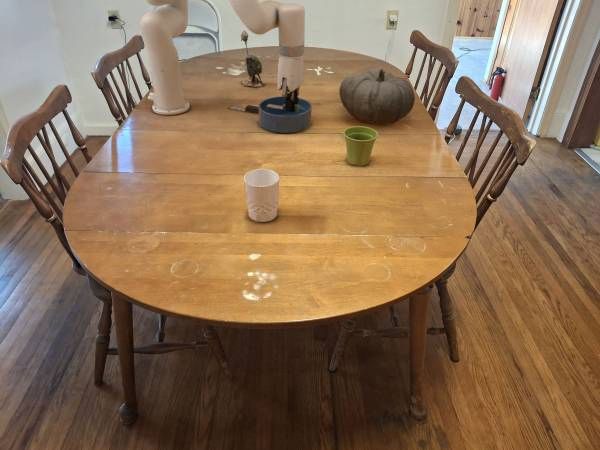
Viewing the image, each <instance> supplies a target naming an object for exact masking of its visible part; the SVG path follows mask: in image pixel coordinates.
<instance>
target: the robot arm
mask: <svg viewBox="0 0 600 450" xmlns="http://www.w3.org/2000/svg"><path fill="white" fill-rule="evenodd" d="M145 1H146V3H147V4H148V5H150V6H152V7H158V8H154V9H152V10H149V11H147V12H146V13H145V14H144V15H142V17H141V19H140V22H139V31H140V34H141V37H142V39H143V40H142V41H143V42H144V46H145V49H146V53H147V58H148V63H149V70H150V75H151V81H152V87H153V92H149V94H148V96H147V100H148V101H152V102H153V104H152V106H151V107H152V108H151V109H152V111H153V112H154V113H156V114H158V115H160V116H161V115H162V116H175V115H180V114H183V113H185V112H187V111H189V110H190V108H191V106H190V102H189V101H187V100H186V99H185V95H184V94H185V93H184V86H183V79H182V72H181V64H180V58H179V53H178V49H177V48H176V46H175V44H174V41H173V39H174V38H177V37H179V36H181V35H182V34H184V33H185V32H186V30H187V28H188V24H189V9H188V8H189V0H145ZM229 3H230V5H231V7H232V10H234V12H235V14H236V15H237V16H238V18H239V20H240V21H241V22H242V24H243V25H244V26H245V27H246V29H248V31H249V32H251V33H252V34H255V35H259V36H260V35H264V34H267V33H268V32H270V31H272V30H275V29H277V28H278V64H277V79H276V81H277V90H278V91H281V96H284V99H285V111H289V112H295V104H297V105H298V98H299V97H300V88H301V87H302V85H303V83H304V79H305V63H304V57H305V36H306V35H305V31H306V28H305V26H306V11H305V7H304V5H302V4H300V3H294V2H292V3H290V2H289V3H285V2H280V1H278V0H277V1H276V0H264V1H262V2H260V1H259V0H229Z"/></svg>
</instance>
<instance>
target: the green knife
mask: <svg viewBox="0 0 600 450" xmlns="http://www.w3.org/2000/svg"><path fill="white" fill-rule="evenodd" d="M266 107H269V108H275V109H281V110H285V104H284V105H283V106H278V105H272V104H268V105H267V106H266ZM298 111H299V105H297V104H295V112H298Z"/></svg>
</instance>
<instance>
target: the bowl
mask: <svg viewBox="0 0 600 450" xmlns="http://www.w3.org/2000/svg"><path fill="white" fill-rule="evenodd" d="M268 104H272V105H278V106H283V105H284V104H285V99H284V96H282V95H280V96H272V97H268V98H266V99H262V100H261V101H260V102H259V103H258V105H257V107H258V111H259V113H258V124H259V126H260V127H261V128H263V129H264V130H267V131H270V132H273V133H274V132H275V133H283V134H285V133H286V134H287V133H289V134H290V133H296V132H301V131H303V130H306V129H308V128H309V127H310V126H311V125H312V120H313V105H312V103H311V102H310V101H308V100H307V99H304V98H302V97H298V105H299V111H298V112H289V111H285V110H281V109H275V108H269V107H266V106H267V105H268Z"/></svg>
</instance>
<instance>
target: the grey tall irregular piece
mask: <svg viewBox="0 0 600 450" xmlns="http://www.w3.org/2000/svg"><path fill="white" fill-rule="evenodd" d="M240 38H241V39H240V41H241V42H242V41H243V42H244V45H245V48H246V53H247V56H246V58H245V65H246V71H247V74H248V77H246V78H245V79H242V80H241V81H240V83H241V84H242V85H244V86H248V87H254V88H259V87H263V86H265V84H266V83H265V82H263V80H262V78H261V75H260V74H262V73H263V64H262V61H261V60H260V58H259V56H257V55H256V54H249V51H248V43H247V42H248V38H249V34H248V32H247V31H246V30H243V31H242V32H241V35H240ZM256 75H257V76H256Z"/></svg>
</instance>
